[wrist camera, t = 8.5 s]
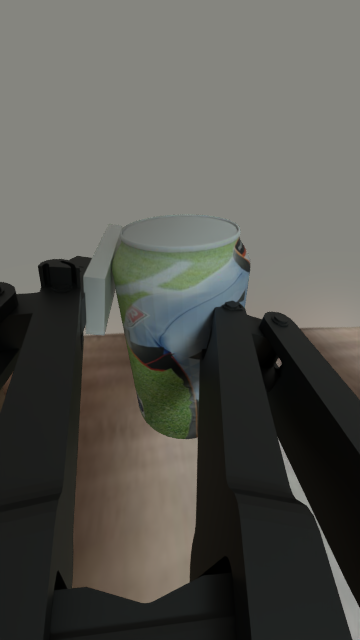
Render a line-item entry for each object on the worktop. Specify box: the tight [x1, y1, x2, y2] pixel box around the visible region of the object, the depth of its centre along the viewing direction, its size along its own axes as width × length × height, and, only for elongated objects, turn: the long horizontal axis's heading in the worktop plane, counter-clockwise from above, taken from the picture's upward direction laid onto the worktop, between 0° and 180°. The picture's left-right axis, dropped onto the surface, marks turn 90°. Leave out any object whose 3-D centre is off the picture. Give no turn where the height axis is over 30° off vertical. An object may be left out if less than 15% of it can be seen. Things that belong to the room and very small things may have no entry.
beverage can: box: [112, 215, 250, 439], centre depth 13 cm, size 6×7×12 cm
